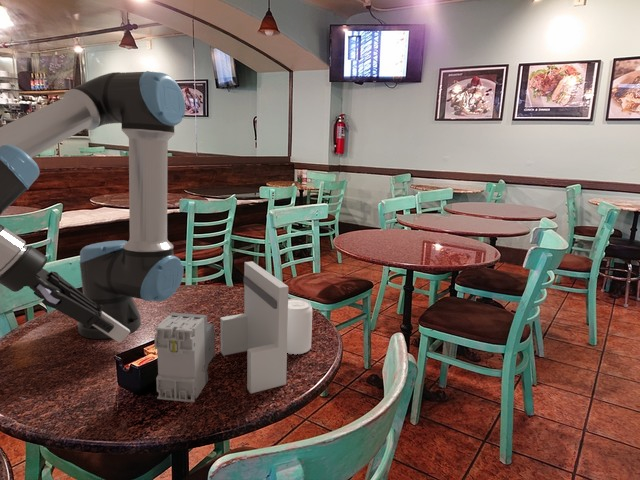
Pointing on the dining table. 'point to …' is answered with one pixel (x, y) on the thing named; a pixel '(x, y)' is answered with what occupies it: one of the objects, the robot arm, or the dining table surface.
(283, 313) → the grey upright angular piece
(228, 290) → the dining table surface
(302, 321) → the beverage can
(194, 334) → the circuit breaker
